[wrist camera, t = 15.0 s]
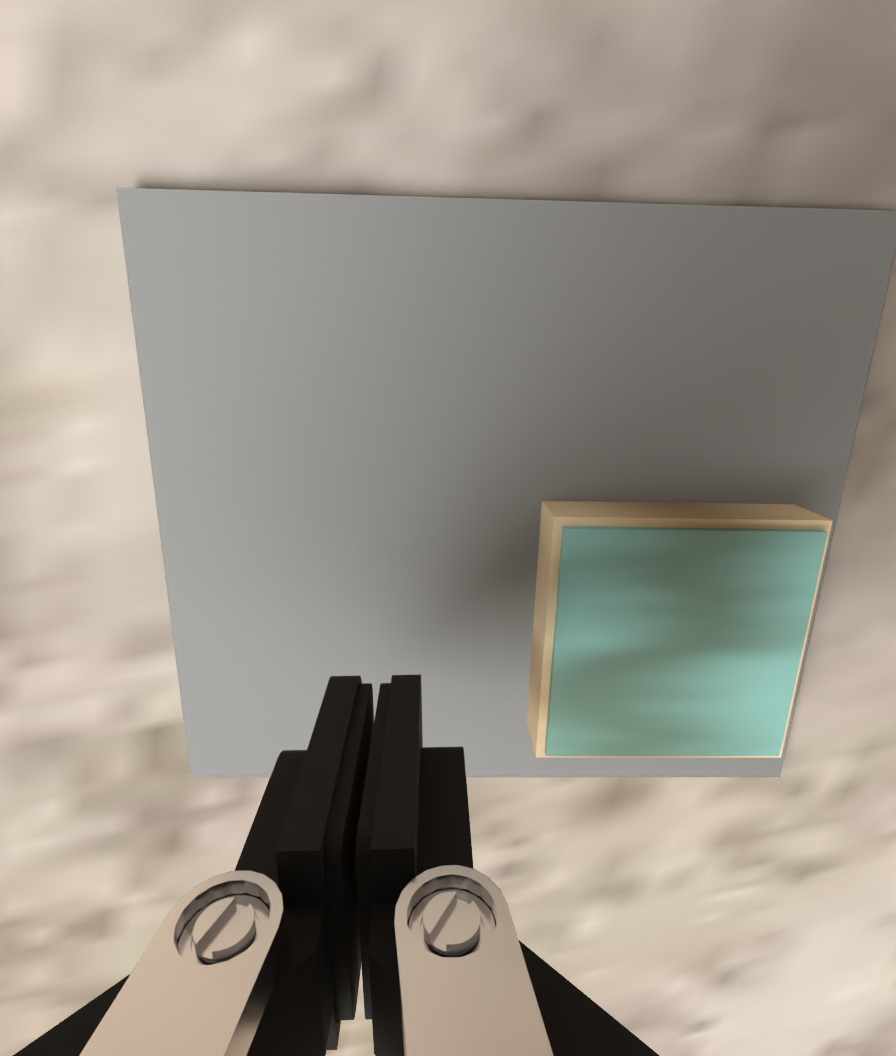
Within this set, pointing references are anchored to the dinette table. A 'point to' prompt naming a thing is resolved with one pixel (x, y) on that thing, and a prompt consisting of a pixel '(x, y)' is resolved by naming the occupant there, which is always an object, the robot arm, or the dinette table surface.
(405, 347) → the mat
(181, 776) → the dinette table surface
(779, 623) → the tile
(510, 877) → the dinette table surface
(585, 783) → the dinette table surface
